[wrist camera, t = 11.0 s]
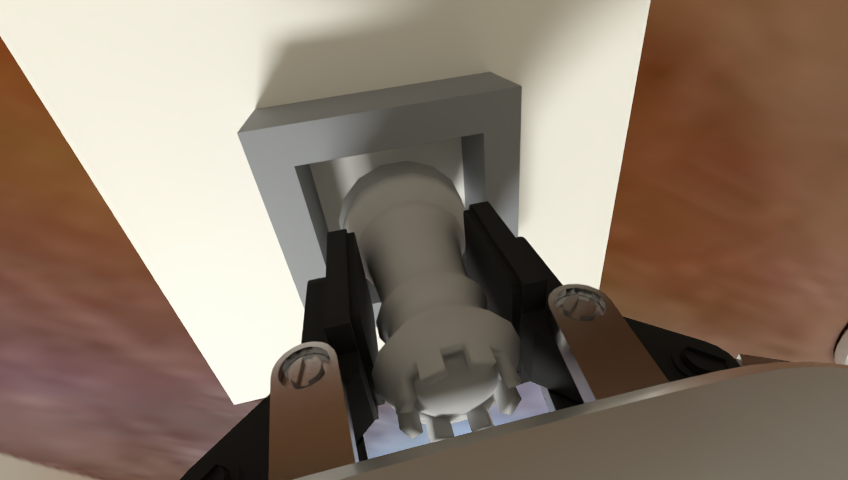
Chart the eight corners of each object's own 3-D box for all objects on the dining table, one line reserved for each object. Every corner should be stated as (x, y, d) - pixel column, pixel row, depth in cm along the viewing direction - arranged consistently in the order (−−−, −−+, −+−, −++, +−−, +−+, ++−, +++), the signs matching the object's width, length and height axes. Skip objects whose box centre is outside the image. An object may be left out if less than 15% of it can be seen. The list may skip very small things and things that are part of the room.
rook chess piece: (366, 279, 15) (390, 494, 9) (316, 182, 13) (298, 378, 6) (471, 241, 15) (576, 425, 9) (442, 136, 13) (559, 282, 6)
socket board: (647, -161, 12) (775, -228, 9) (579, 303, 23) (624, 358, 20) (-38, -93, 10) (-239, -144, 7) (240, 380, 21) (220, 458, 18)
